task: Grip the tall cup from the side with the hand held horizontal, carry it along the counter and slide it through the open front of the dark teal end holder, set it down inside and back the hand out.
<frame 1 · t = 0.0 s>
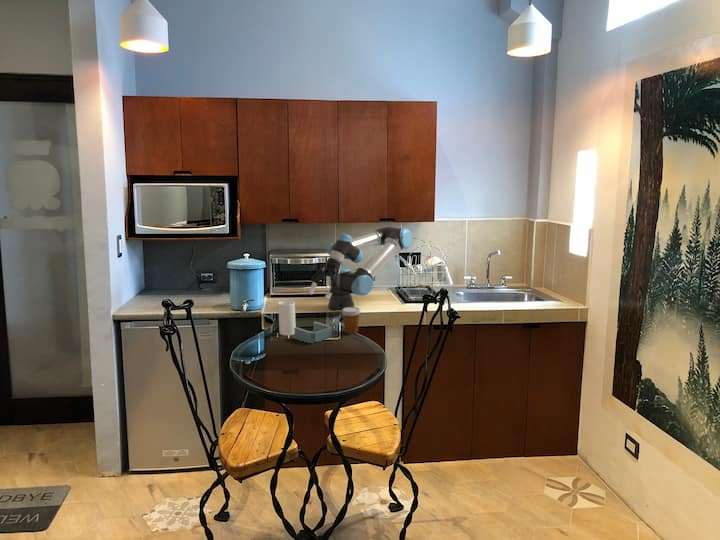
hand: (318, 295, 298), 15 cm above the table, tool tilted 35°, fingers open, 13 cm apart
disposable coffee cup: (351, 332, 288), on the table
cup: (287, 333, 287), on the table
end holder: (314, 337, 281), on the table
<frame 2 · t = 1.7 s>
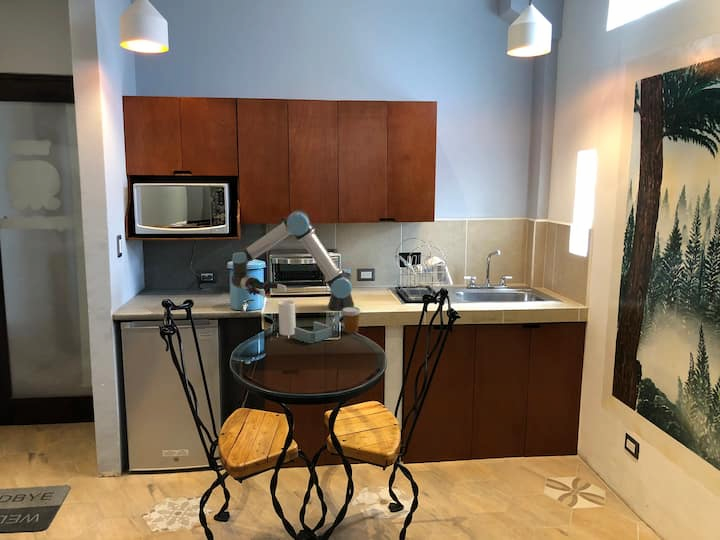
hand: (275, 290, 289), 20 cm above the table, tool horizontal, fingers open, 13 cm apart
nothing on the table moved.
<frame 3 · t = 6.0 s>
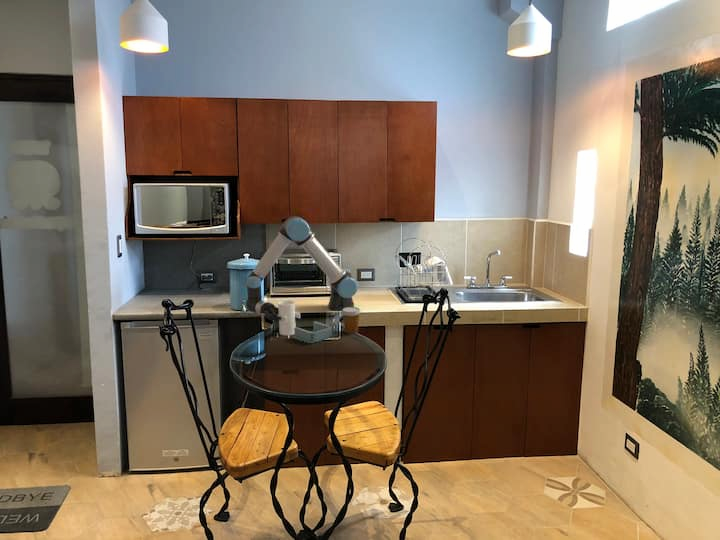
hand: (292, 317, 282), 9 cm above the table, tool horizontal, fingers closed on cup, 8 cm apart
cup: (287, 333, 287), on the table, touching gripper
everything else where it was.
when the fingers open (11 cm above the table, at t = 11.4 s): cup drops 1 cm, resting on end holder.
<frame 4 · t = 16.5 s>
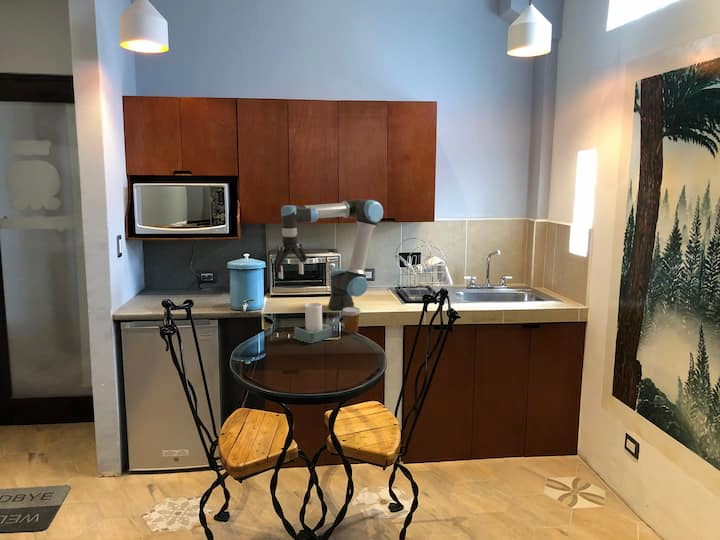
hand: (291, 276, 294), 27 cm above the table, tool pointing down, fingers open, 13 cm apart
cup: (314, 336, 280), resting on end holder
everything else where it was.
at the end: cup inside the target area on the end holder (0.1 cm from its centre), point 0.4 cm above the end holder's base; cup tilted 0°; the gripper is holding nothing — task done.
